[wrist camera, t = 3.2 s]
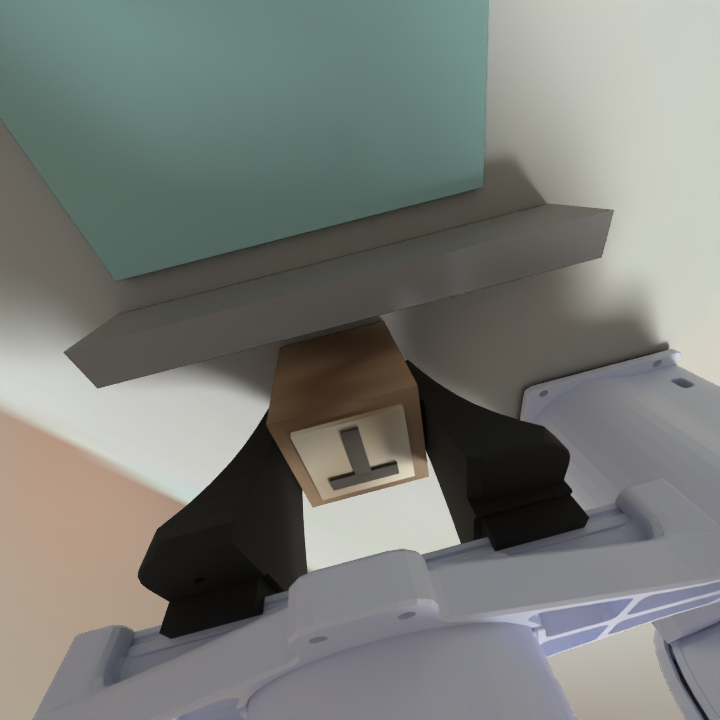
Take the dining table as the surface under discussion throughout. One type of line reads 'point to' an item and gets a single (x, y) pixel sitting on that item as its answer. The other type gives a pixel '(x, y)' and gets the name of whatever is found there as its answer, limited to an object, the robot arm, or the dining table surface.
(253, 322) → the long grey bar
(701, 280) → the dining table surface
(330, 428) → the letter cube
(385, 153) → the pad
